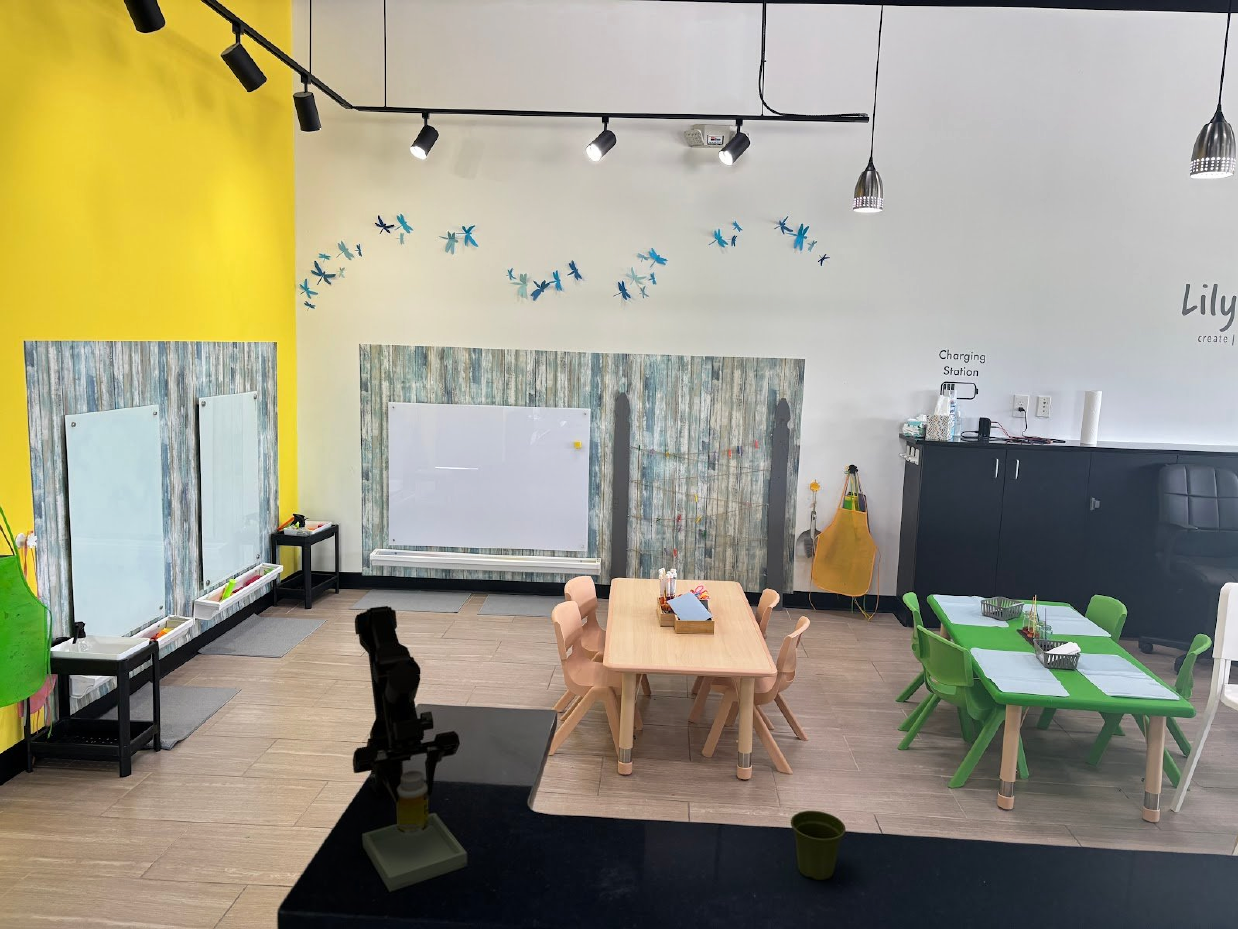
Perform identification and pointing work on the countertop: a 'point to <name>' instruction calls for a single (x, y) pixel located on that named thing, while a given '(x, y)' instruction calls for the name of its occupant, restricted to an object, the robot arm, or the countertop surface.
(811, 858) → the plant pot
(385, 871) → the tray
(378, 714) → the robot arm
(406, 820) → the supplement bottle
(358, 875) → the countertop surface
